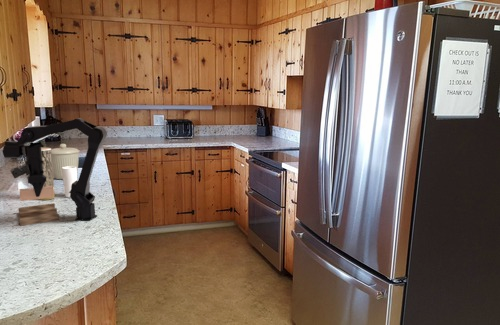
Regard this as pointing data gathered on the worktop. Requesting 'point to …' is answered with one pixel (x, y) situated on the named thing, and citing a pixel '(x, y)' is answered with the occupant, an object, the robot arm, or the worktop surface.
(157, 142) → the worktop surface
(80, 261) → the worktop surface
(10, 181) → the worktop surface
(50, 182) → the bark textured cylinder
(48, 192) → the peach long block
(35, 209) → the brown ridged slab
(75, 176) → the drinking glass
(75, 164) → the canister
